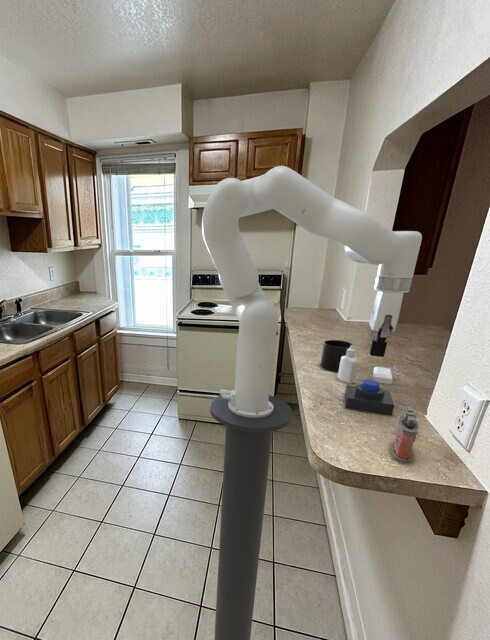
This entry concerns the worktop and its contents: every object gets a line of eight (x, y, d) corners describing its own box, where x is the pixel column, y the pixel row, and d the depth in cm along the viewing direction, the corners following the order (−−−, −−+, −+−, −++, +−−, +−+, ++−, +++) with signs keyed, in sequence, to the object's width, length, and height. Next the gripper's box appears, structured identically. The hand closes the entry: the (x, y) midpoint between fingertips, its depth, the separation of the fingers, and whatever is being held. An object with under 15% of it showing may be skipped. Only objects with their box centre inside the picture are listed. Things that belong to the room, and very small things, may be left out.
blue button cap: (362, 391, 96) (363, 384, 96) (361, 385, 100) (362, 379, 99) (378, 393, 95) (380, 386, 94) (377, 387, 98) (378, 381, 98)
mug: (326, 374, 121) (330, 349, 118) (317, 362, 132) (320, 339, 129) (355, 375, 120) (360, 349, 117) (343, 363, 131) (347, 340, 128)
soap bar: (373, 381, 114) (375, 374, 114) (373, 372, 122) (374, 365, 121) (391, 384, 112) (393, 376, 111) (389, 375, 120) (391, 367, 119)
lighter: (411, 465, 73) (423, 422, 69) (392, 460, 74) (403, 418, 71) (408, 446, 79) (419, 406, 76) (391, 442, 81) (400, 402, 77)
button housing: (345, 408, 97) (348, 391, 95) (344, 394, 105) (347, 379, 104) (391, 415, 93) (395, 398, 91) (387, 400, 101) (390, 384, 99)
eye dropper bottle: (340, 383, 113) (346, 347, 109) (336, 377, 118) (342, 342, 114) (355, 384, 112) (361, 348, 108) (350, 378, 118) (357, 343, 113)
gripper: (372, 280, 95) (358, 346, 101) (378, 287, 82) (362, 361, 88) (404, 282, 92) (389, 349, 98) (416, 289, 79) (397, 366, 85)
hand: (376, 355), depth 93 cm, fingers closed
